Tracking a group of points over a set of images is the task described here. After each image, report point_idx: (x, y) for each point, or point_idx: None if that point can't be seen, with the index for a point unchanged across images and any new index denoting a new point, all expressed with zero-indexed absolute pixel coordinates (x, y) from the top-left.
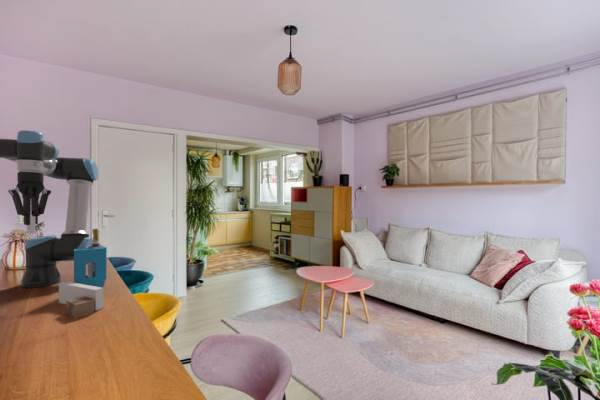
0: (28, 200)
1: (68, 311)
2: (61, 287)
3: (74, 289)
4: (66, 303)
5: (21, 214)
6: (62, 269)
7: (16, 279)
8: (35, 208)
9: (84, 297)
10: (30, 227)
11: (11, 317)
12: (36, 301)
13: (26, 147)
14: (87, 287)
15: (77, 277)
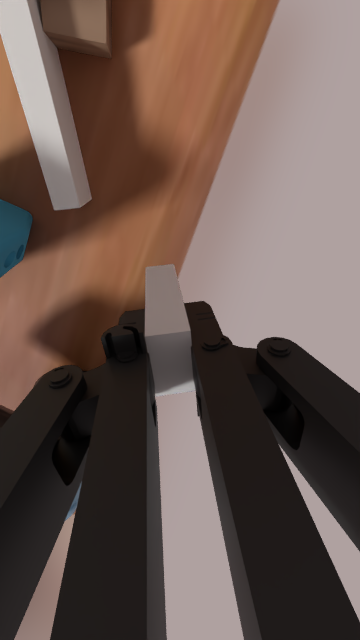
0: (306, 590)
1: (110, 32)
2: (79, 191)
3: (57, 106)
4: (107, 45)
5: (288, 341)
6: None
7: None
8: (138, 420)
9: (48, 8)
10: (178, 285)
11: (201, 182)
12: (124, 264)
13: None
14: (19, 11)
15: (13, 228)
